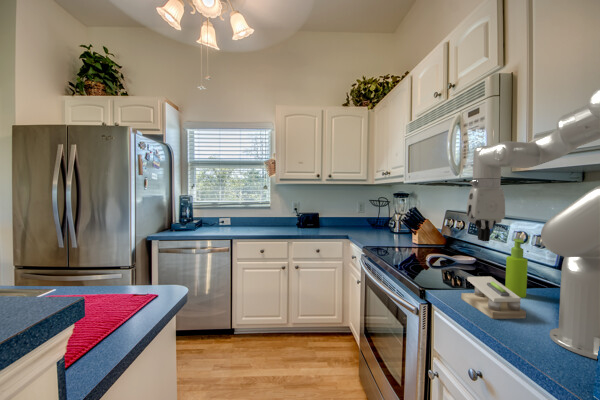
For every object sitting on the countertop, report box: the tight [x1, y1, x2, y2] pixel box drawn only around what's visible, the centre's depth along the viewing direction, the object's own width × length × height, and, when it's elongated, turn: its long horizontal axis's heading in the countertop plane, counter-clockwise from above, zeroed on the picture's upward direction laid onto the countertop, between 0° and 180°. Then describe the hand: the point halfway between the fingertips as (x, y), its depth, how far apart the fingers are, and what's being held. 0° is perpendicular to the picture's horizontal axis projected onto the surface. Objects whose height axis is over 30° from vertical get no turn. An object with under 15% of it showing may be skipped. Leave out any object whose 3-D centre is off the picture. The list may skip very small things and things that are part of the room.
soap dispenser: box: [504, 238, 529, 299], centre depth 95 cm, size 6×7×20 cm
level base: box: [460, 286, 527, 320], centre depth 85 cm, size 14×10×4 cm
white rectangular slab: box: [466, 276, 522, 303], centre depth 84 cm, size 12×8×3 cm, turn 3°
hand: (483, 240), depth 88 cm, fingers closed
